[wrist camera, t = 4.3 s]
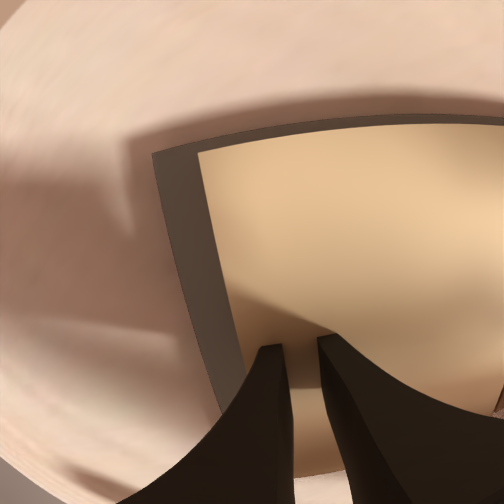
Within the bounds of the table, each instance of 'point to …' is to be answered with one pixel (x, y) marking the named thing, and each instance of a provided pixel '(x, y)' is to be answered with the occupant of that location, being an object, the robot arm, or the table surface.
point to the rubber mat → (204, 245)
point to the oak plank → (366, 260)
